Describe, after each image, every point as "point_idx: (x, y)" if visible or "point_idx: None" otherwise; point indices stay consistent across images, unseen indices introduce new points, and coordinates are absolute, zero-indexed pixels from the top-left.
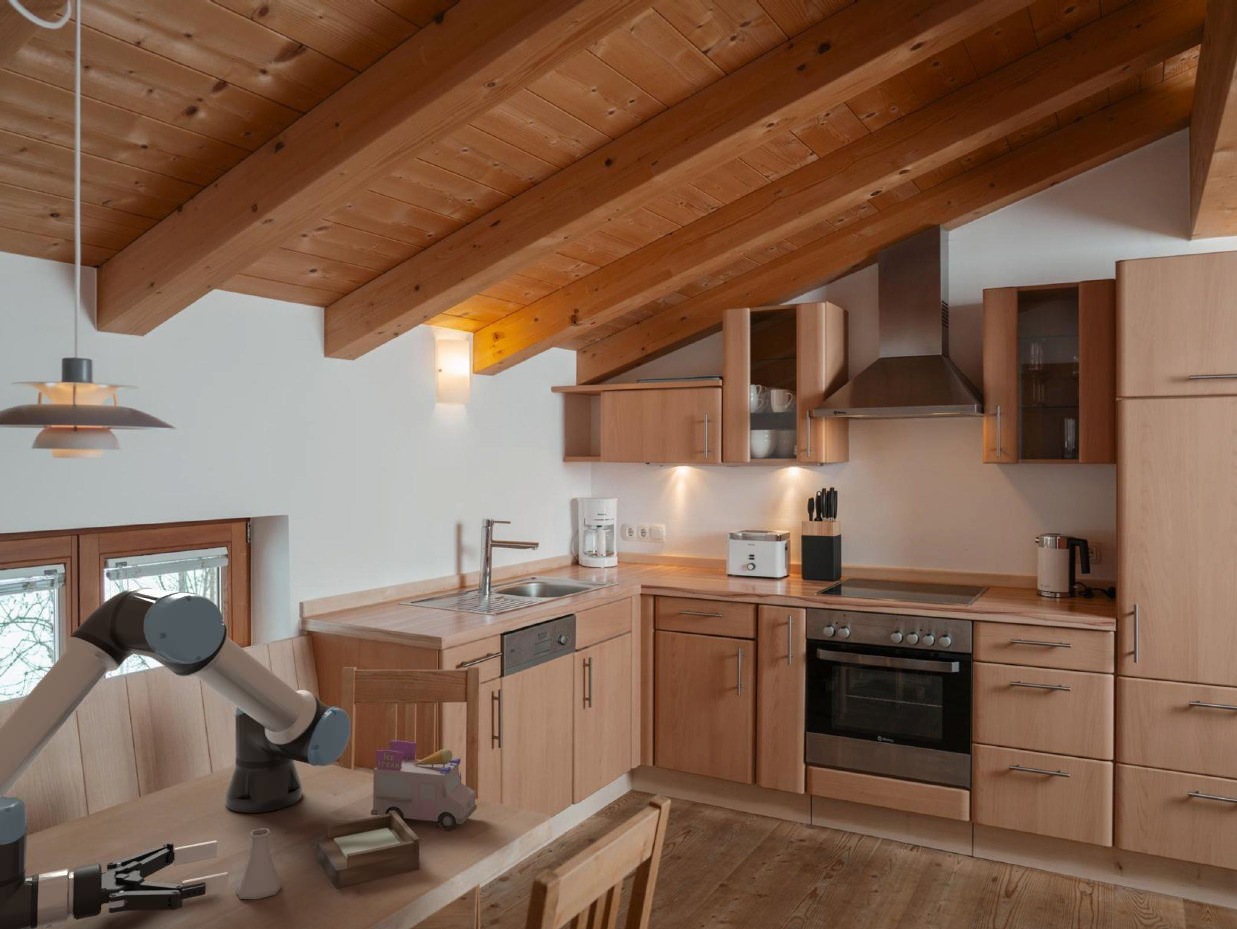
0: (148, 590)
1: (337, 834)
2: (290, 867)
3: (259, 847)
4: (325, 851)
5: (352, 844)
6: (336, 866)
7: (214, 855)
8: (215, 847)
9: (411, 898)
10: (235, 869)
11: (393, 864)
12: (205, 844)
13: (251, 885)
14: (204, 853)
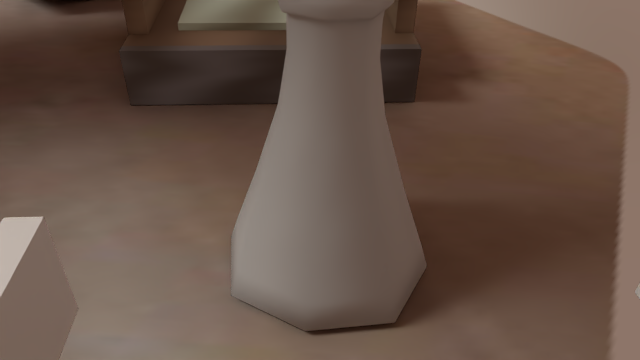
0: None
1: (152, 16)
2: (175, 160)
3: (379, 59)
4: (252, 48)
5: (260, 7)
6: (389, 45)
7: (68, 307)
8: (51, 258)
9: (522, 30)
10: None
11: None
12: (10, 289)
13: (400, 241)
14: (30, 351)
